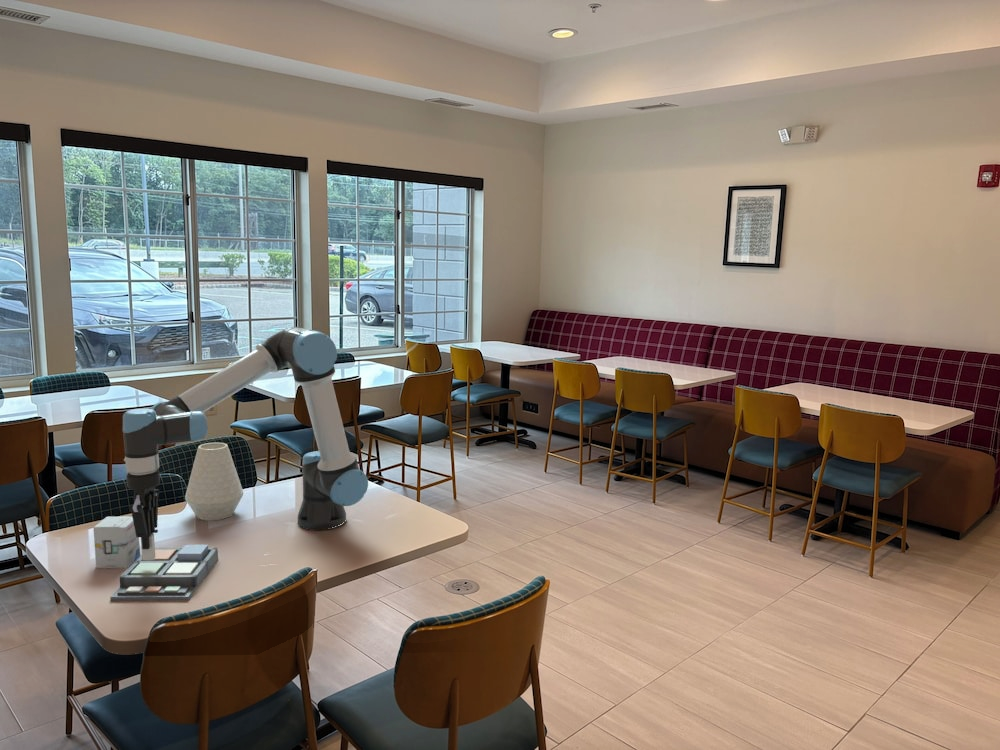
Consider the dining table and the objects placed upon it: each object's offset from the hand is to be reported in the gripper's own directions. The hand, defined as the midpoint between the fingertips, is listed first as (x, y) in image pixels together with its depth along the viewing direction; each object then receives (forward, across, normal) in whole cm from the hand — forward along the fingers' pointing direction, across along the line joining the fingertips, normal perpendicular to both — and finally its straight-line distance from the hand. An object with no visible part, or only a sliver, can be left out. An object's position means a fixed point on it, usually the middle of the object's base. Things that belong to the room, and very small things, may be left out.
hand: (148, 558), depth 186 cm
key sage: (+5, 0, 0) cm, 5 cm away
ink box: (+6, -12, -13) cm, 19 cm away
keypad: (+6, -1, +4) cm, 8 cm away
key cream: (+5, 0, +8) cm, 10 cm away
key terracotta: (+5, -8, 0) cm, 10 cm away
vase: (+7, -48, +2) cm, 49 cm away
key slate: (+4, -8, +8) cm, 12 cm away
